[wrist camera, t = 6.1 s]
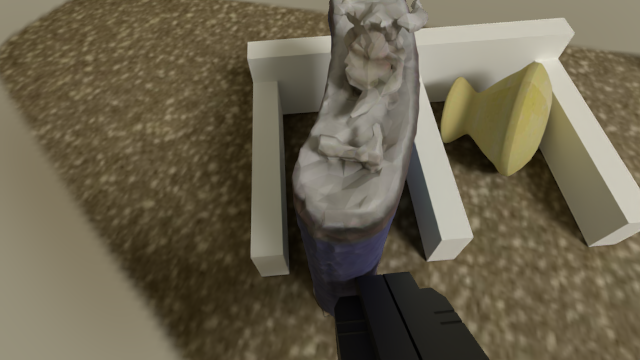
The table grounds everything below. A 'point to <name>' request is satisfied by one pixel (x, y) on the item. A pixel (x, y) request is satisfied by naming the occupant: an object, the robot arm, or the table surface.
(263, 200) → the rack
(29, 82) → the table surface
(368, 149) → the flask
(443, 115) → the knob
